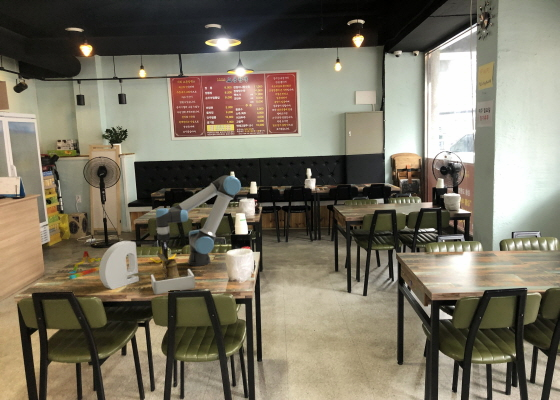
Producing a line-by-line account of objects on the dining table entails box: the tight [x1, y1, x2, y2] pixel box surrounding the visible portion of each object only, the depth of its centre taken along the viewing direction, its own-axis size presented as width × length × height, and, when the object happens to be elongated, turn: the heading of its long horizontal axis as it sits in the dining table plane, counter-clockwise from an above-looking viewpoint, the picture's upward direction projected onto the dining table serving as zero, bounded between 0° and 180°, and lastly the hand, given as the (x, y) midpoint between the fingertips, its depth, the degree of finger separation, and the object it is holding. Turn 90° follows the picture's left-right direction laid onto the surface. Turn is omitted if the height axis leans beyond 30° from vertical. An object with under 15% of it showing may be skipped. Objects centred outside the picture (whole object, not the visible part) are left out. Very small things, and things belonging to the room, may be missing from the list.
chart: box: [68, 250, 102, 280], centre depth 280 cm, size 30×3×15 cm, turn 153°
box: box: [150, 268, 196, 295], centre depth 244 cm, size 22×15×7 cm
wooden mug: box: [157, 252, 180, 280], centre depth 259 cm, size 9×14×18 cm, turn 146°
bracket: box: [98, 240, 140, 290], centre depth 251 cm, size 7×21×25 cm, turn 142°
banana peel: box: [149, 247, 177, 264], centre depth 298 cm, size 17×19×17 cm
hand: (166, 269), depth 270 cm, fingers closed
